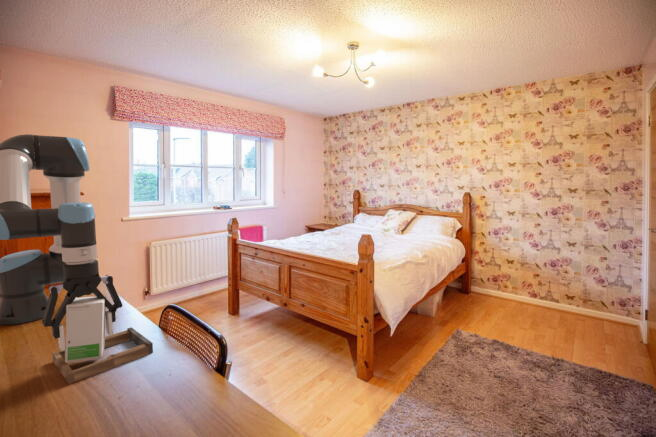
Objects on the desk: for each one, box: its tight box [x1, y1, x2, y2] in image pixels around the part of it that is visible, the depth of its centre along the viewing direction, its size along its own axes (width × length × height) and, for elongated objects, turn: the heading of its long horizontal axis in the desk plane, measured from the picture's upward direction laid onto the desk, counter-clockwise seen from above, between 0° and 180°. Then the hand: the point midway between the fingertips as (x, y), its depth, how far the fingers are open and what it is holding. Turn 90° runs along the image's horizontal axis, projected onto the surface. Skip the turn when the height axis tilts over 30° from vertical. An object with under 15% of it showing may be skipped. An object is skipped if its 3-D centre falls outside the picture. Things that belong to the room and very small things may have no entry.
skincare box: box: [64, 295, 107, 364], centre depth 91 cm, size 8×7×16 cm
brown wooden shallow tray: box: [51, 326, 154, 385], centre depth 95 cm, size 15×20×3 cm
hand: (87, 340), depth 91 cm, fingers closed on skincare box, 10 cm apart
